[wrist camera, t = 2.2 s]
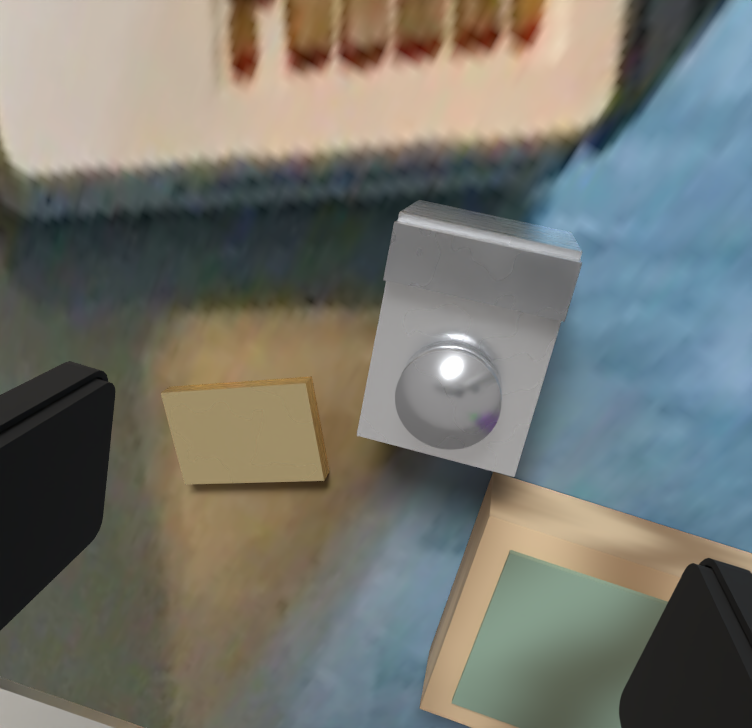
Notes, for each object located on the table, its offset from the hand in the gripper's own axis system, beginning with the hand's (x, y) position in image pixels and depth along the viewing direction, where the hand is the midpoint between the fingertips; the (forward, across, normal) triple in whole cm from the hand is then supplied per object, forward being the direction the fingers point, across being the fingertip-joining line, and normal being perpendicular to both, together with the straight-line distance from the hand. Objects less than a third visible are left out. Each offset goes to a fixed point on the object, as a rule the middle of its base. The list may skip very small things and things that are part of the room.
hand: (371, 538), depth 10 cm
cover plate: (+14, +6, +6) cm, 16 cm away
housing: (+13, -1, 0) cm, 13 cm away
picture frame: (+13, -9, +9) cm, 18 cm away
